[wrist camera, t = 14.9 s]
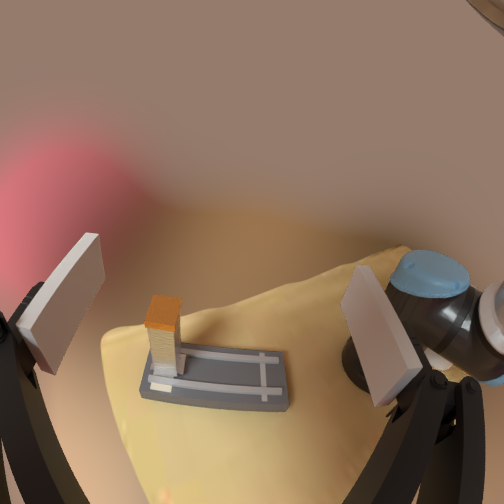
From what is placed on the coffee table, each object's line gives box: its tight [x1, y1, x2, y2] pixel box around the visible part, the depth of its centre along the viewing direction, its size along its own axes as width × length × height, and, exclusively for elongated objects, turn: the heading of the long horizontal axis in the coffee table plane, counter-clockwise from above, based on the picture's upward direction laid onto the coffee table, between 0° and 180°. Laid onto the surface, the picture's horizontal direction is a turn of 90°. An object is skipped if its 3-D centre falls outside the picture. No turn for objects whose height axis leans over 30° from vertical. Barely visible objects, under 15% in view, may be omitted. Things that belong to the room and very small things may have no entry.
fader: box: [144, 294, 186, 377], centre depth 35 cm, size 5×5×11 cm
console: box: [139, 342, 289, 412], centre depth 39 cm, size 21×10×3 cm, turn 91°
